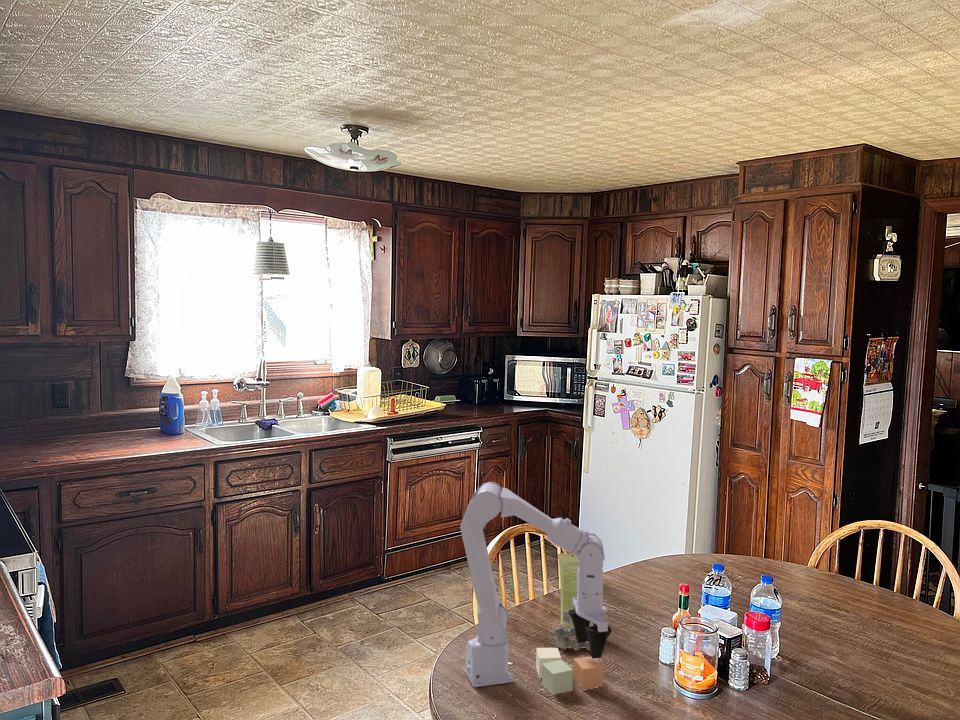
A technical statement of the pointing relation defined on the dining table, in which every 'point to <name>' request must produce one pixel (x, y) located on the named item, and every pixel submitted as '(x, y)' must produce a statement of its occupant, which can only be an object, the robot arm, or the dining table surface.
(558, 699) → the dining table surface
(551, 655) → the cream block
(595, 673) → the terracotta block
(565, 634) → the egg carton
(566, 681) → the sage block
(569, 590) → the tube
